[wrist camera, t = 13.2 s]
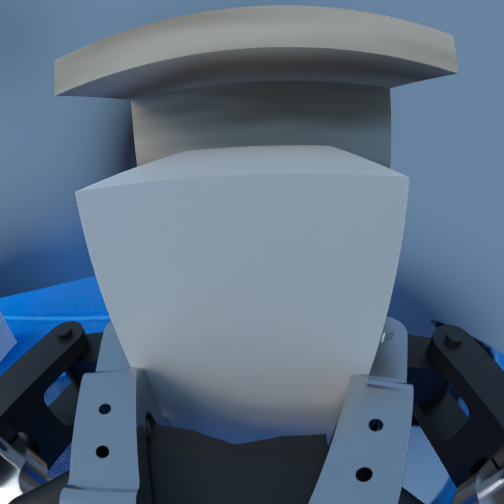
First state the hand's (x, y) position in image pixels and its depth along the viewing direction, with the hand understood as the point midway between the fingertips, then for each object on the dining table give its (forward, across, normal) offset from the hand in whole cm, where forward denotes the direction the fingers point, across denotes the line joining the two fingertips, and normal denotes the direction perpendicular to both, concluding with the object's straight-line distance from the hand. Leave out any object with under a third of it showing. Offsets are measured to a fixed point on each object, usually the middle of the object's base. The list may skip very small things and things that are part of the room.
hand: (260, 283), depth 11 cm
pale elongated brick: (-3, 0, +6) cm, 7 cm away
